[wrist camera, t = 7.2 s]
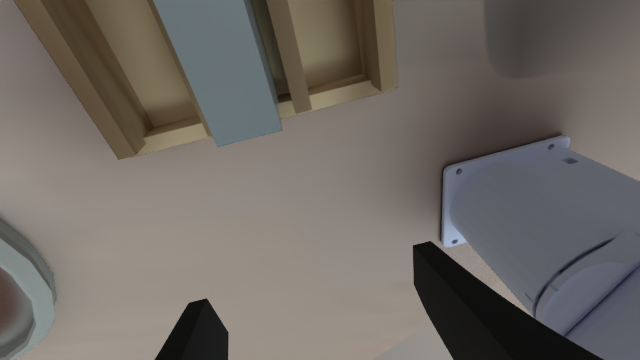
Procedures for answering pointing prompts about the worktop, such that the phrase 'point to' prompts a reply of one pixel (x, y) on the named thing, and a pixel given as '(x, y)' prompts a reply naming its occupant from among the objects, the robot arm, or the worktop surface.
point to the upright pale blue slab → (224, 65)
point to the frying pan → (23, 295)
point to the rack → (170, 79)
